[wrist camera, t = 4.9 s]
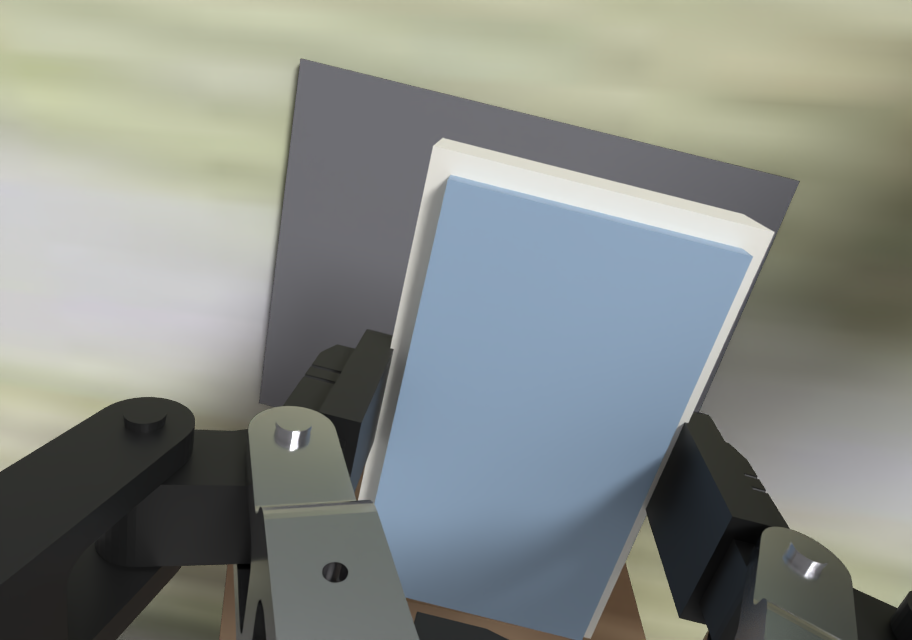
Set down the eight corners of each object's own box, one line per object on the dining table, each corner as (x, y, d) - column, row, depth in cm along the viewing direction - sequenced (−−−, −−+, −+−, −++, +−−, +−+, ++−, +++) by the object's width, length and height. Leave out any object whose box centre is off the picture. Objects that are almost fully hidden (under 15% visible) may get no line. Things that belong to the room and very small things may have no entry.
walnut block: (304, 428, 27) (228, 560, 19) (608, 499, 27) (650, 656, 19) (274, 622, 31) (202, 791, 23) (535, 681, 31) (547, 867, 24)
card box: (442, 138, 12) (428, 148, 10) (743, 214, 12) (787, 239, 10) (357, 532, 15) (335, 594, 13) (583, 588, 15) (593, 657, 14)
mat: (304, 59, 21) (300, 58, 21) (794, 179, 21) (799, 181, 21) (262, 398, 26) (259, 403, 26) (659, 491, 26) (661, 497, 26)
